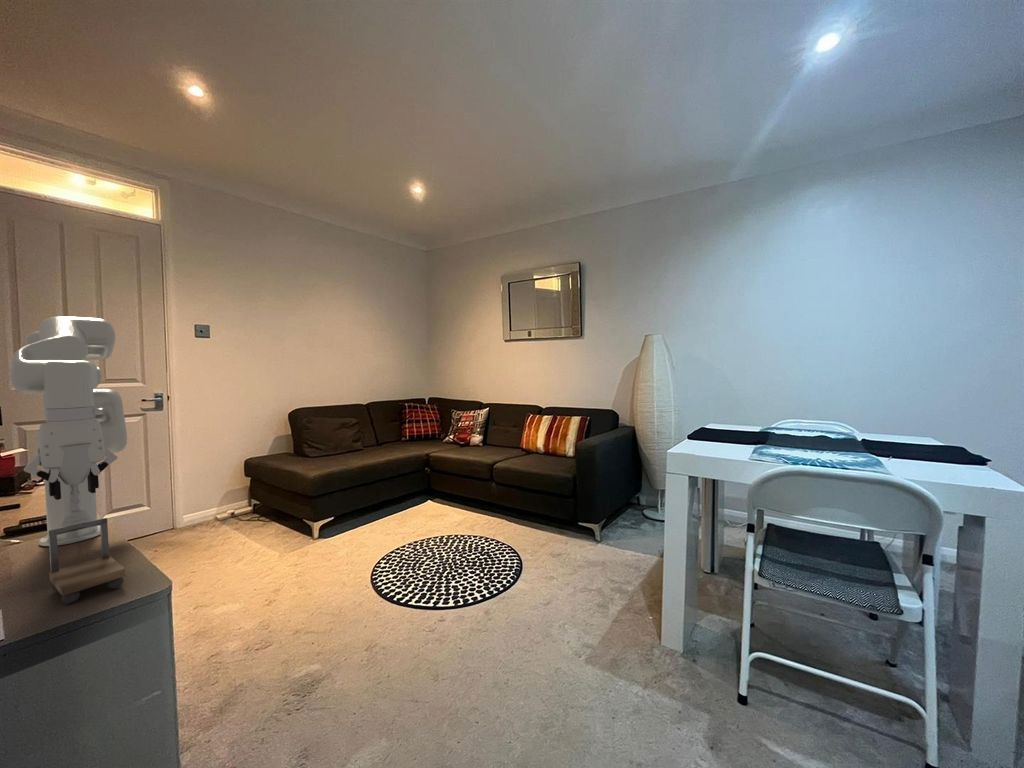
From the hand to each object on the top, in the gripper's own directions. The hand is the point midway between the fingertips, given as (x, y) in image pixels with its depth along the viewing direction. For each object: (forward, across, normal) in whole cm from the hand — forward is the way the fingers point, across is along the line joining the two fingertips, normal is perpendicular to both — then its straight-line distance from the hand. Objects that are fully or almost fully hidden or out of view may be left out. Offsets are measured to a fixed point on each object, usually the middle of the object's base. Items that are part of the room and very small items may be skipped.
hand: (75, 494), depth 94 cm
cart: (+17, +1, +15) cm, 23 cm away
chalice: (+7, 0, 0) cm, 7 cm away
